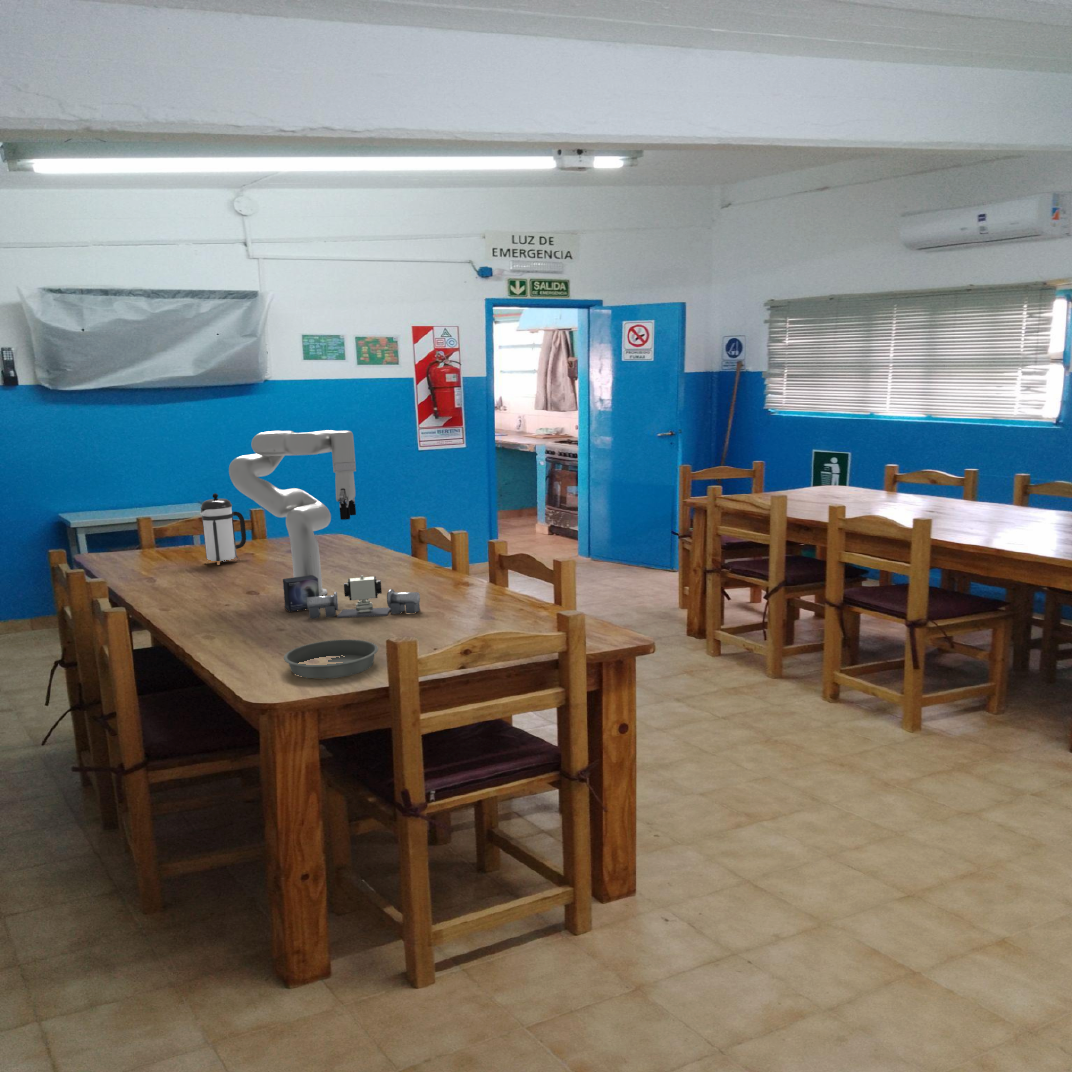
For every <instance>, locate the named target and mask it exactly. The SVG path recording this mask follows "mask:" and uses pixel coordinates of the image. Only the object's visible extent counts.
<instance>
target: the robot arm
mask: <svg viewBox="0 0 1072 1072" xmlns="http://www.w3.org/2000/svg"><path fill="white" fill-rule="evenodd" d="M251 449H252V450H253V452H254V453H251V454H244V455H240V456H237V457H235V458H234V459H233V460H232V461H231V462H230V464H229V467H228V474H229V478H230V480H231V483H232V484H233V486H234V487H235V488H236V490H237V491H239V492H240V493H241V494H243V495H244V496H246V497H247V498H249V499H251V500H252V501H254V502H255V503H256V504H258V505H259V506H260V507H262V508H263V509H265V510H266V511H267V512H268V513H270V514H272V515H273V516H275V517H277V518H285V526H286V529H287V534H288V537H289V542H290V550H291V559H292V570H293V571H292V573H293V578H294V577H301V576H309V575H314V576H315V577H317V578H318V588H319V596H322V595H323V596H327V595H328V590H327V588H323V580H322V568H321V558H320V547H319V546H320V545H319V541H318V539H317V537H316V535H315V533H314V532H316V531H319V530H323V529H325V528H327V527H328V526H329V525H330V523H331V520H332V514H331V512H330V510H329V508H328V507H327V506H326V505H325V504H324V503H323V502H321V501H320V500H319V499H317V498H315V497H314V496H313V495H311V494H309V493H308V491H305V490H303V489H300V488H295V487H293V488H291V487H290V488H287V489H281V488H278V486H275V485H274V484H272V483H271V482H269V481H267V480H265V479H263V478H260V477H266V476H268V475H270V474H272V473H273V472H274V471H275V470H276V468H277V467H278V466H279V464H280V462H281V461H282V460H283V458H284V457H285V456H308V455H309V456H311V455H318V454H319V455H320V454H326V453H327V454H328V453H330V452H331V455H332V456H331V457H332V458H331V459H332V468H333V469H332V470H333V472H332V473H335V480H334V481H335V482H334V483H335V500H336V502H339V517H340V518H339V519H340V520H342V521H343V520H346V521H347V520H350V519H351V516H357V509H356V499H355V497H356V485H355V474H354V472H357V465H356V454H355V442H354V434H353V432H352V431H351V430H332V429H330V430H329V429H326V430H325V429H323V430H317V431H309V432H294V431H293V430H271V431H269V430H268V431H264V432H259V433H257V434H256V435H254V437H253V438H252V439H251ZM282 590H283V591H284V587H283V586H282Z"/></svg>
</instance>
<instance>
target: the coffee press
mask: <svg viewBox="0 0 1072 1072" xmlns="http://www.w3.org/2000/svg"><path fill="white" fill-rule="evenodd" d="M232 506H233V504H232V503H231V501H230V500H228V499H227V498H219V494H218V493H215V492H214V493H213V494H212V498H211V499H207V500H204V501H203V502H202V503H201V506H200V511H199V514H200V516H201V518H202V519H201V521H202V529H203V538H204V540H203V541H204V548H205V559H206V558H207V559H208V560H211V561H223V562H227V561H226V560H229V561H232V560H231V559H238V558H239V557H238V554H237V549H241V548H243V547H244V546H245V545H246V542H247V532H246V522H245V518H244V515H243V514H242V513H241V512H240V511H233V510H232ZM234 517H237V518H238V519H239V520H238V521H239V525H240V534H241V537H240V538H241V540H240V542H239V543H238V544H236V536H235V528H234V527H235V526H234ZM207 559H206V560H207ZM208 560H207V561H208ZM224 560H225V561H224Z"/></svg>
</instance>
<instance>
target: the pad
mask: <svg viewBox="0 0 1072 1072" xmlns="http://www.w3.org/2000/svg"><path fill="white" fill-rule="evenodd" d="M390 613H391V608H389V607H388V606H387V607H373V610H371V612H369V613H359V612H358V611H356V608H346V609H342V610H341V611H340V612H339V613H338V614H337V615H336V618H337V619H339V618H343V619H344V618H365V617H386V616H388V615H389V614H390Z"/></svg>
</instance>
